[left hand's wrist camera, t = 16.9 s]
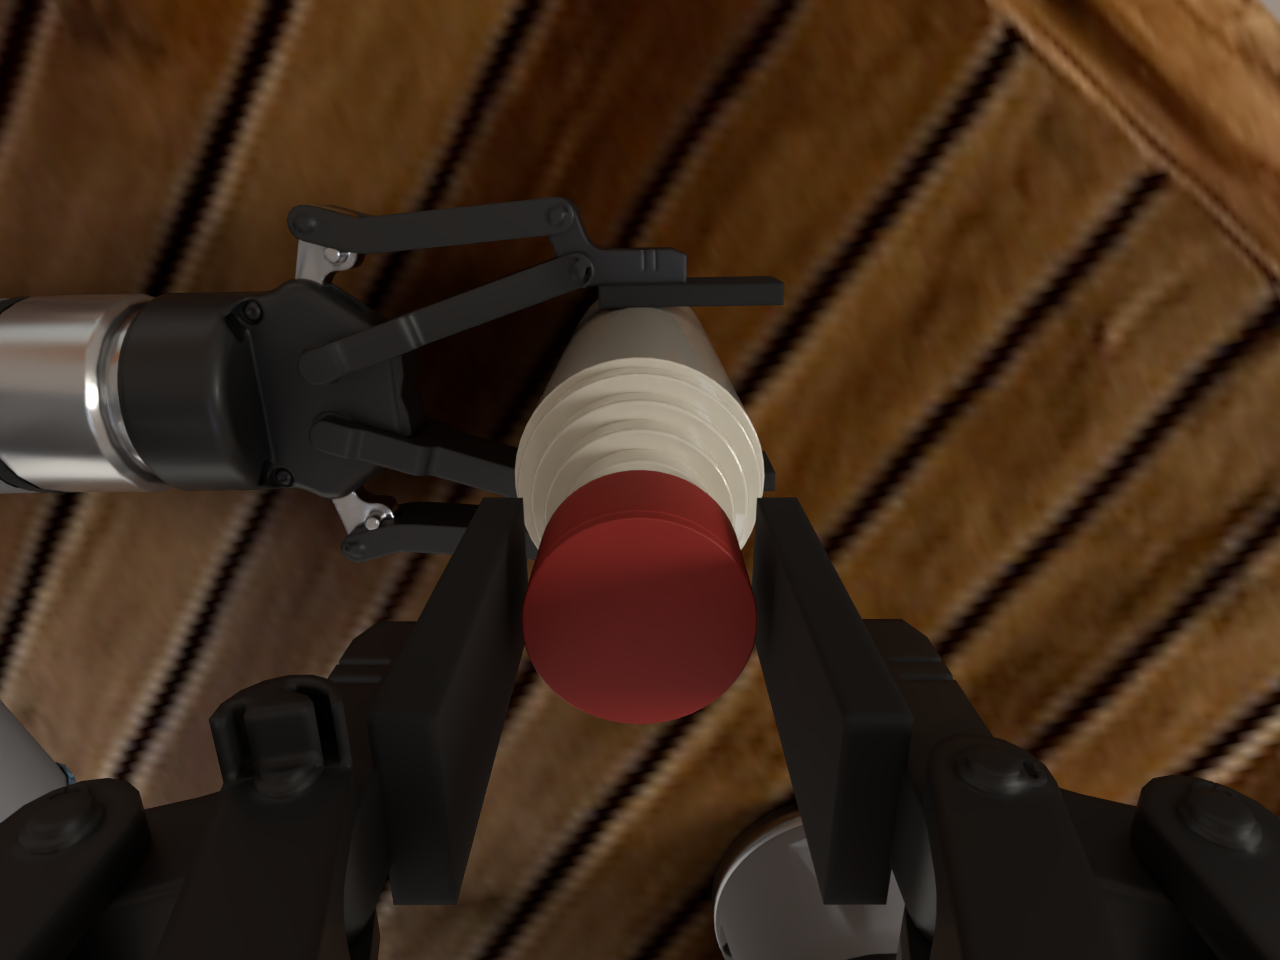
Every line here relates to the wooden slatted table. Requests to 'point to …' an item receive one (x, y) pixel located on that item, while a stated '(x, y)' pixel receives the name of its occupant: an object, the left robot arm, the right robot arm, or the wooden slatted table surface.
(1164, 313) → the wooden slatted table surface
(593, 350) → the bottle
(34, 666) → the wooden slatted table surface
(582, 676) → the cap
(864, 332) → the wooden slatted table surface
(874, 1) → the wooden slatted table surface
